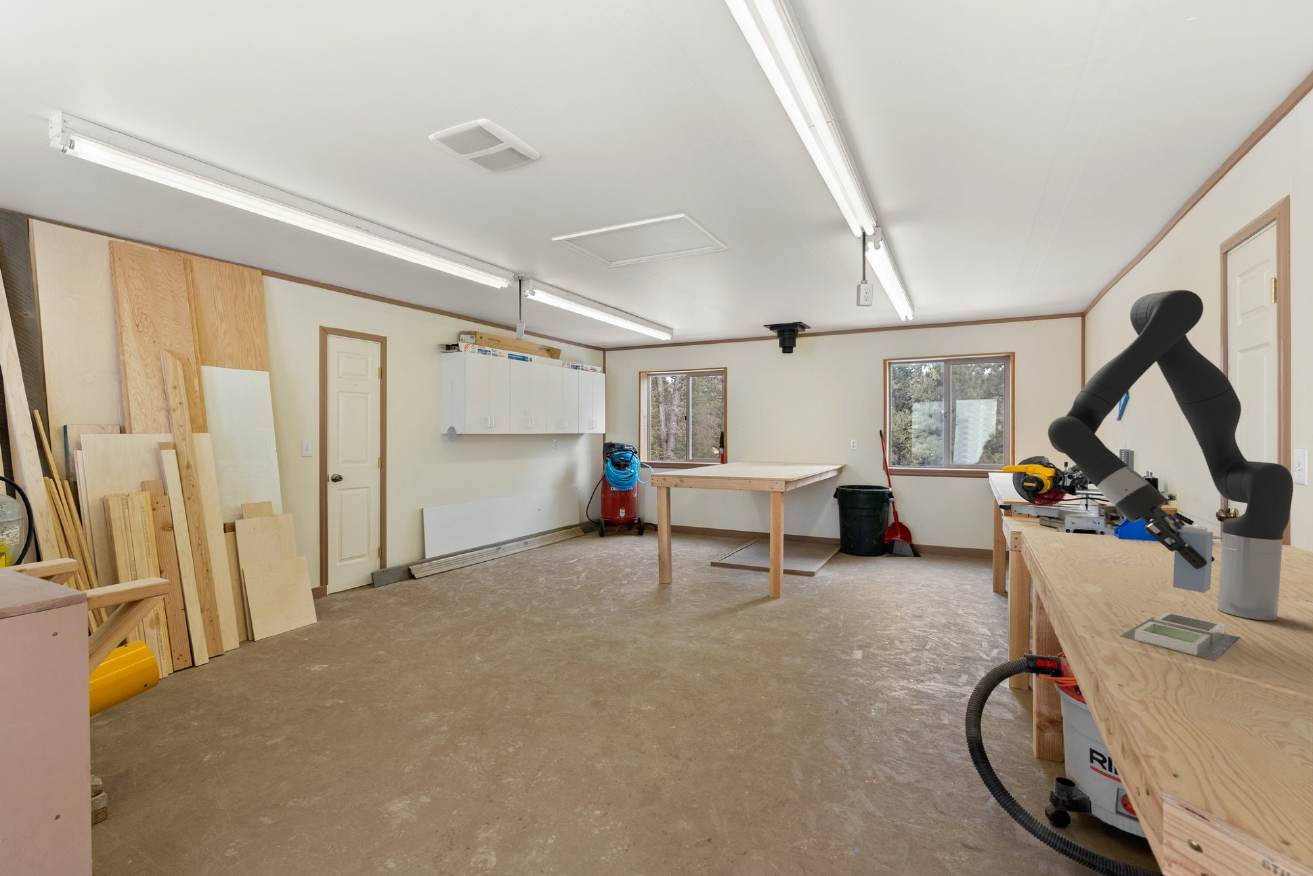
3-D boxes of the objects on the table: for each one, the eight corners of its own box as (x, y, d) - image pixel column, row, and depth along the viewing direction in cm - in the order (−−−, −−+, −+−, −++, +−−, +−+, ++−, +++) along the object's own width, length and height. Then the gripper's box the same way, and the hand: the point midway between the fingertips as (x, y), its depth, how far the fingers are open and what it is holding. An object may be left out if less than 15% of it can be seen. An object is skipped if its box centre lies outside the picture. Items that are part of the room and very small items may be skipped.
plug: (1179, 583, 117) (1182, 524, 116) (1210, 589, 113) (1213, 528, 113) (1172, 587, 114) (1175, 526, 114) (1204, 592, 111) (1207, 530, 110)
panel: (1152, 620, 122) (1153, 608, 122) (1240, 640, 111) (1240, 627, 111) (1119, 639, 110) (1120, 626, 110) (1213, 664, 100) (1214, 650, 99)
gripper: (1135, 484, 115) (1216, 558, 105) (1158, 480, 123) (1235, 548, 114) (1101, 507, 119) (1176, 581, 110) (1126, 502, 128) (1197, 570, 118)
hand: (1206, 564), depth 112 cm, fingers closed on plug, 4 cm apart
